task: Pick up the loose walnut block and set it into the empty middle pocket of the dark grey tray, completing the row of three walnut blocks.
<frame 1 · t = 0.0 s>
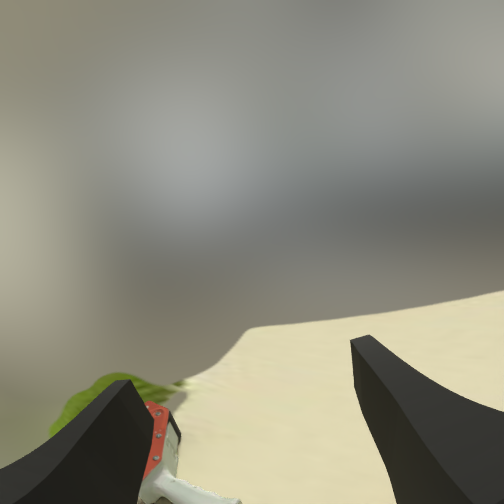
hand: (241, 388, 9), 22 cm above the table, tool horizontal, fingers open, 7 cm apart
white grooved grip: (161, 482, 28), on the table
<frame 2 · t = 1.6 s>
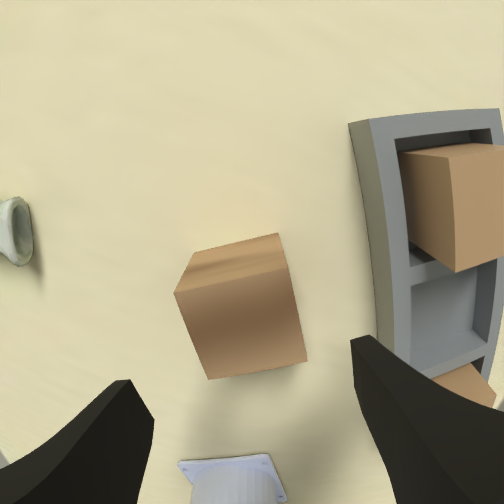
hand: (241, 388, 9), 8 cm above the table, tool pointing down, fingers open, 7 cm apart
pocket tray: (432, 296, 18), on the table
walnut block: (246, 281, 17), on the table
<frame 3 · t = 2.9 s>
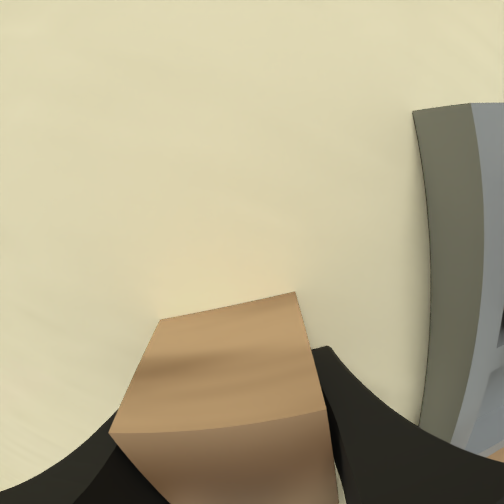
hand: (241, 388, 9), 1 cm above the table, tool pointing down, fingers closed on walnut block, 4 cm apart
pocket tray: (493, 358, 11), on the table
walnut block: (242, 361, 11), on the table, touching gripper
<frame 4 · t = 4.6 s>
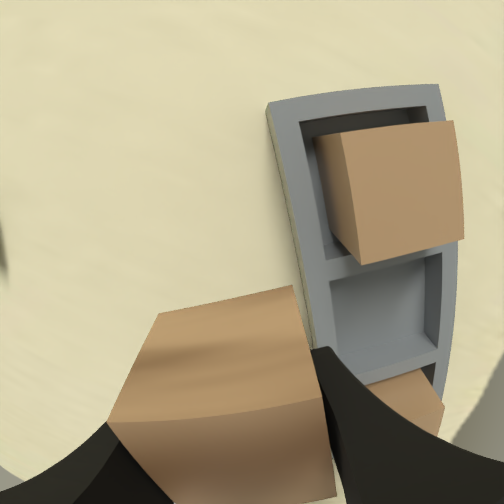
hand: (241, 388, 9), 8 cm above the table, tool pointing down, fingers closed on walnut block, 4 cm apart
pocket tray: (373, 294, 18), on the table
walnut block: (240, 355, 11), point 7 cm above the table, touching gripper
when the fingers open (5 cm above the table, at t = 6.5 s): walnut block drops 2 cm, resting on pocket tray.
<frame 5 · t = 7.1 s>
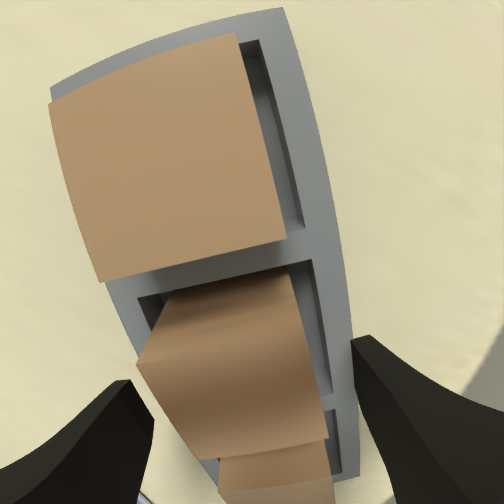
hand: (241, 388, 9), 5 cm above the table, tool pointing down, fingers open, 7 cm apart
pocket tray: (244, 313, 14), on the table
walnut block: (244, 322, 13), point 1 cm above the table, touching pocket tray
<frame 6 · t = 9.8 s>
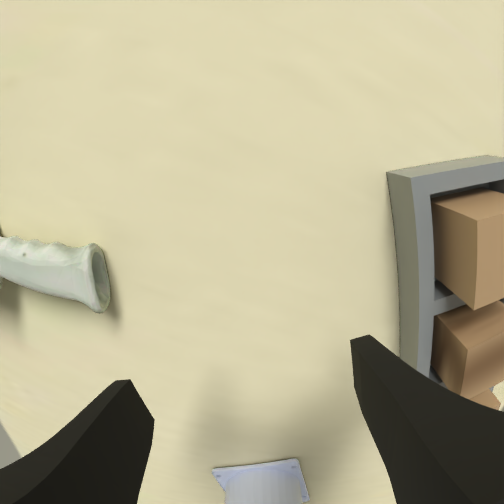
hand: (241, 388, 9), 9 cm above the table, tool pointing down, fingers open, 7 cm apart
pocket tray: (447, 318, 19), on the table
walnut block: (454, 323, 18), point 1 cm above the table, touching pocket tray
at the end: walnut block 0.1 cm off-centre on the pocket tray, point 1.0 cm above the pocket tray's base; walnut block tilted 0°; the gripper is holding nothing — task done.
